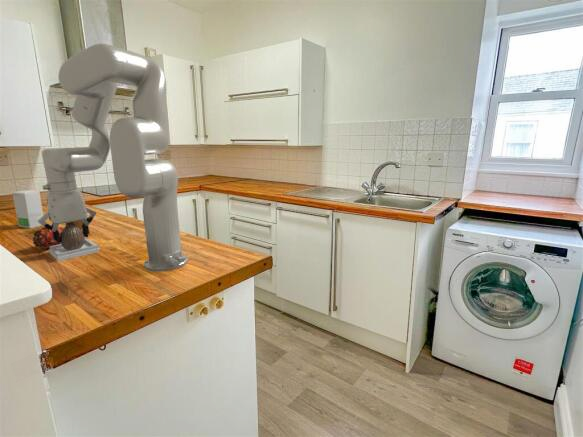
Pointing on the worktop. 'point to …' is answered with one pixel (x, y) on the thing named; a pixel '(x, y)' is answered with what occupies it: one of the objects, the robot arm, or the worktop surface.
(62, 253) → the baseplate
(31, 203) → the skincare box
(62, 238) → the vase
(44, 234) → the dragon fruit
